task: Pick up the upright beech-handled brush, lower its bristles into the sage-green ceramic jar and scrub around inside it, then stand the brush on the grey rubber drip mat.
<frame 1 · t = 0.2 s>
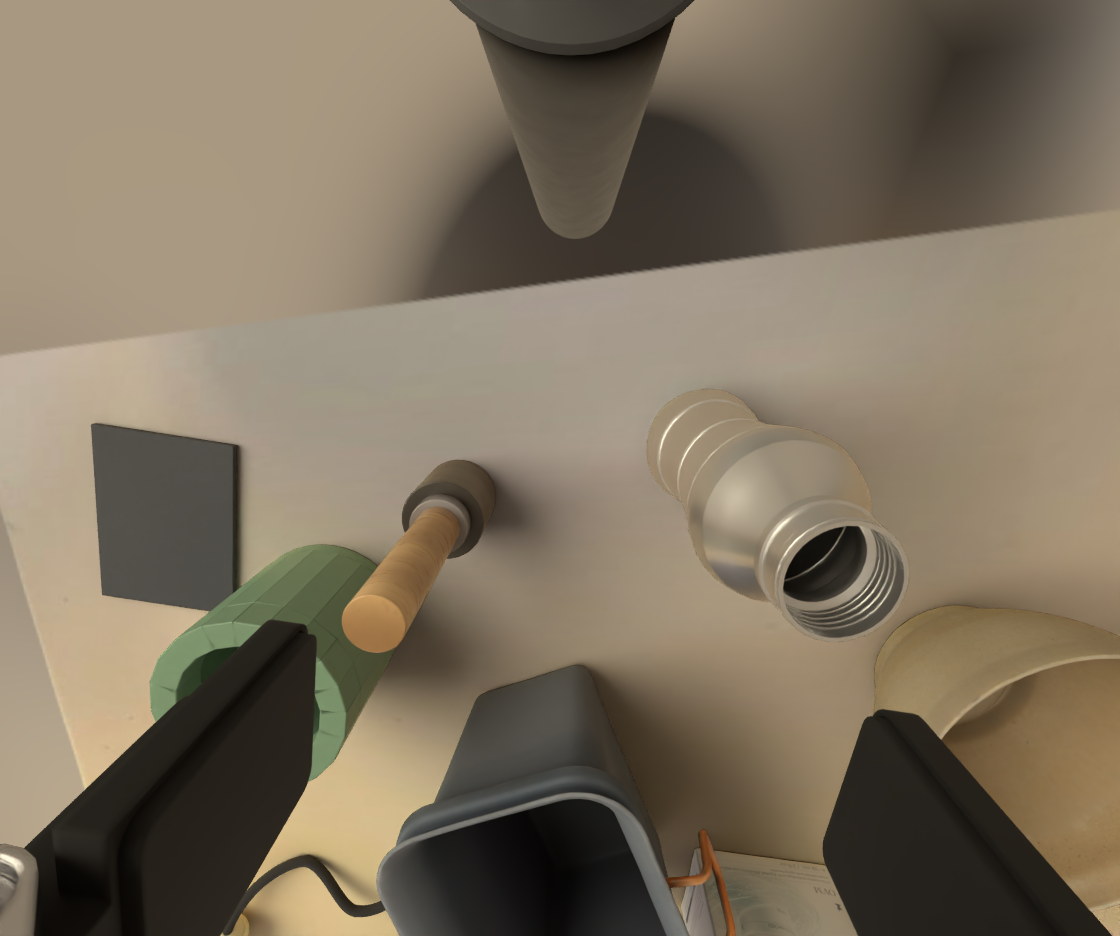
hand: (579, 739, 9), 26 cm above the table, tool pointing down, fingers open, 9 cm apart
brush: (460, 494, 36), on the table
jar: (330, 613, 39), on the table
cable: (327, 916, 46), on the table
cosmetics box: (752, 881, 44), on the table
drip mat: (169, 521, 37), on the table
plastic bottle: (693, 437, 35), on the table
planter bowl: (939, 664, 38), on the table
storage bin: (581, 758, 41), on the table
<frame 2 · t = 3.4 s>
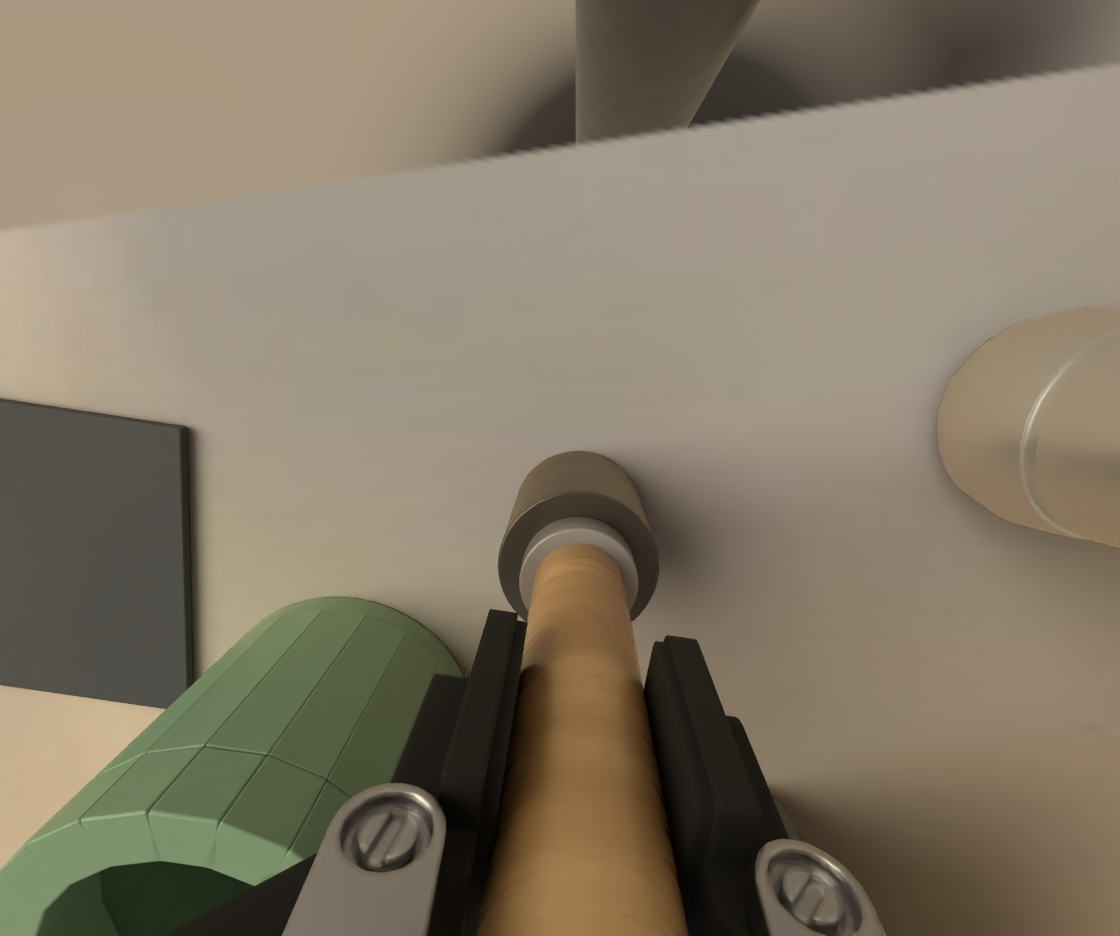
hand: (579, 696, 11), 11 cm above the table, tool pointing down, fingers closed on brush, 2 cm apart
brush: (577, 511, 21), on the table, touching gripper
jar: (349, 708, 23), on the table
drip mat: (76, 559, 22), on the table
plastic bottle: (1000, 407, 20), on the table
storage bin: (749, 929, 26), on the table
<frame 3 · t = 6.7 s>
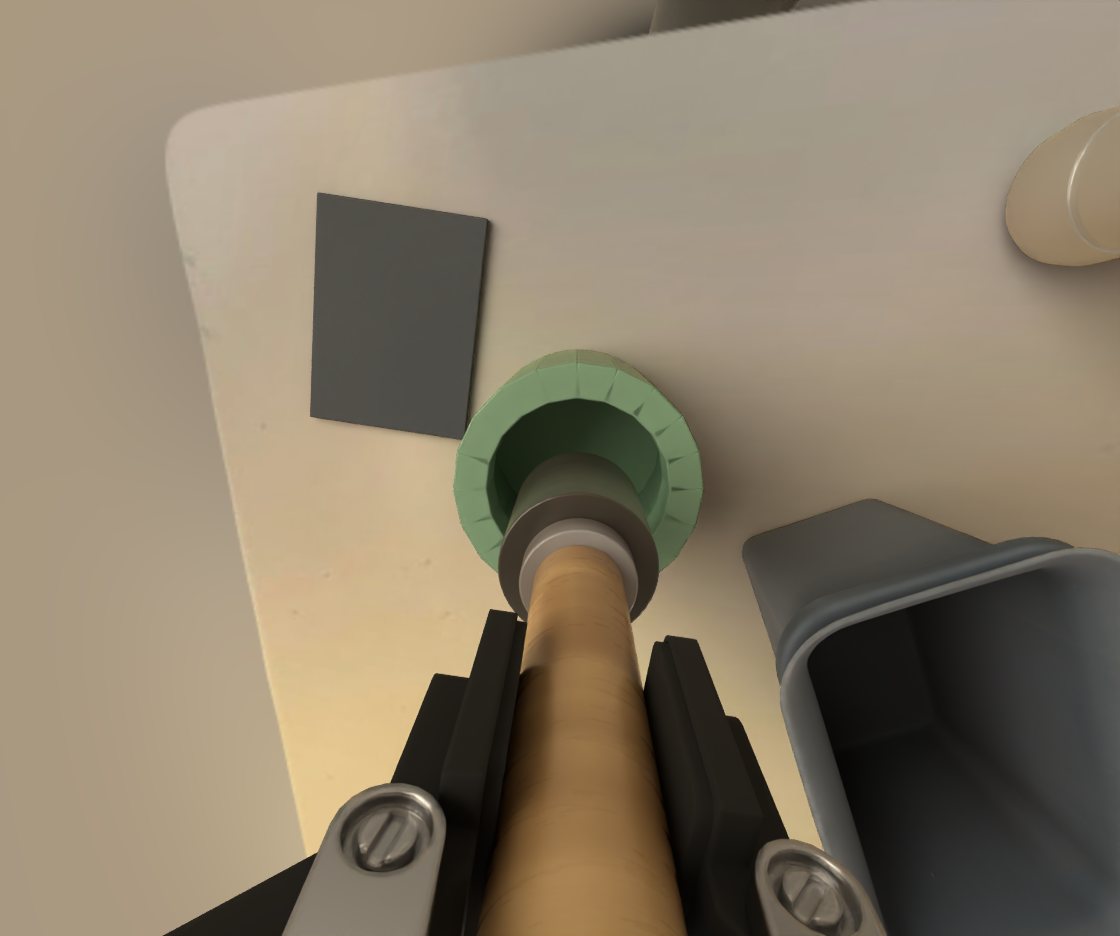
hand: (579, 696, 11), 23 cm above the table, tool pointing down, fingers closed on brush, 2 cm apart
brush: (577, 512, 21), point 12 cm above the table, touching gripper
jar: (577, 438, 33), on the table
drip mat: (396, 322, 31), on the table
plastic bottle: (1047, 201, 29), on the table
storage bin: (852, 621, 35), on the table
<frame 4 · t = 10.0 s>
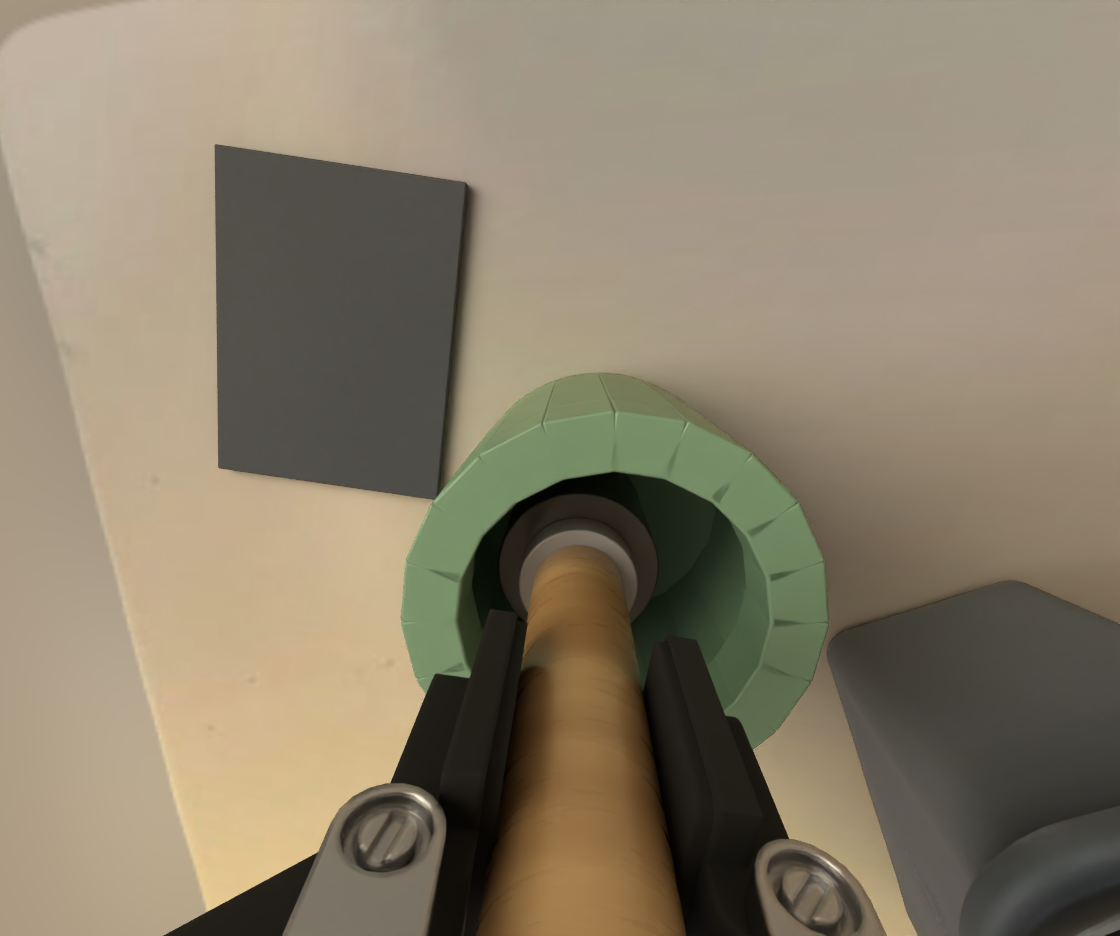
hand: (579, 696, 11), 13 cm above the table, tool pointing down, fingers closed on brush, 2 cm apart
brush: (577, 512, 21), point 2 cm above the table, touching gripper
jar: (597, 497, 23), on the table
drip mat: (337, 334, 22), on the table
storage bin: (973, 740, 26), on the table
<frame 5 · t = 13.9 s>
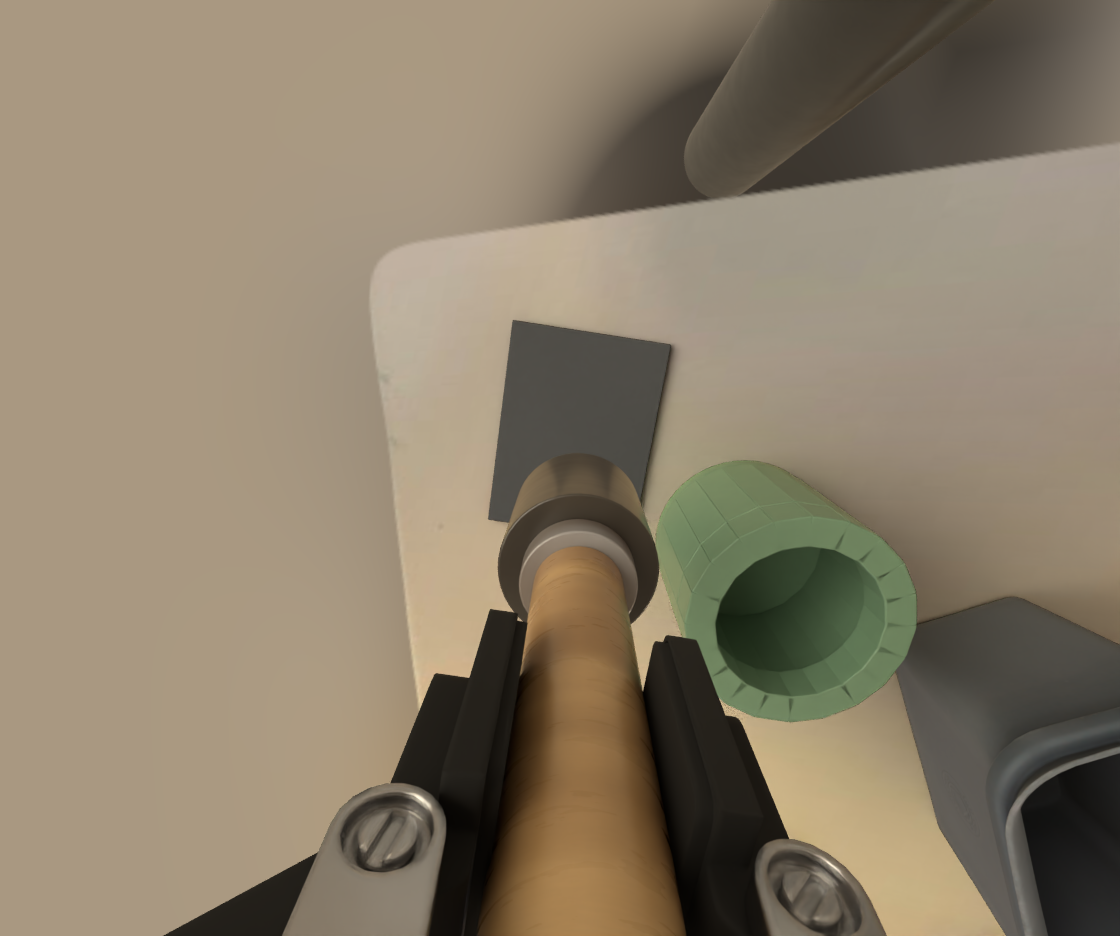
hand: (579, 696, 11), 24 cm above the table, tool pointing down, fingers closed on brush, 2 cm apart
brush: (577, 513, 21), point 13 cm above the table, touching gripper
jar: (738, 539, 35), on the table
drip mat: (575, 434, 33), on the table
storage bin: (986, 705, 37), on the table
when the fingers open (11 cm above the table, at t = 16.8 s): brush stays where it is, resting on drip mat.
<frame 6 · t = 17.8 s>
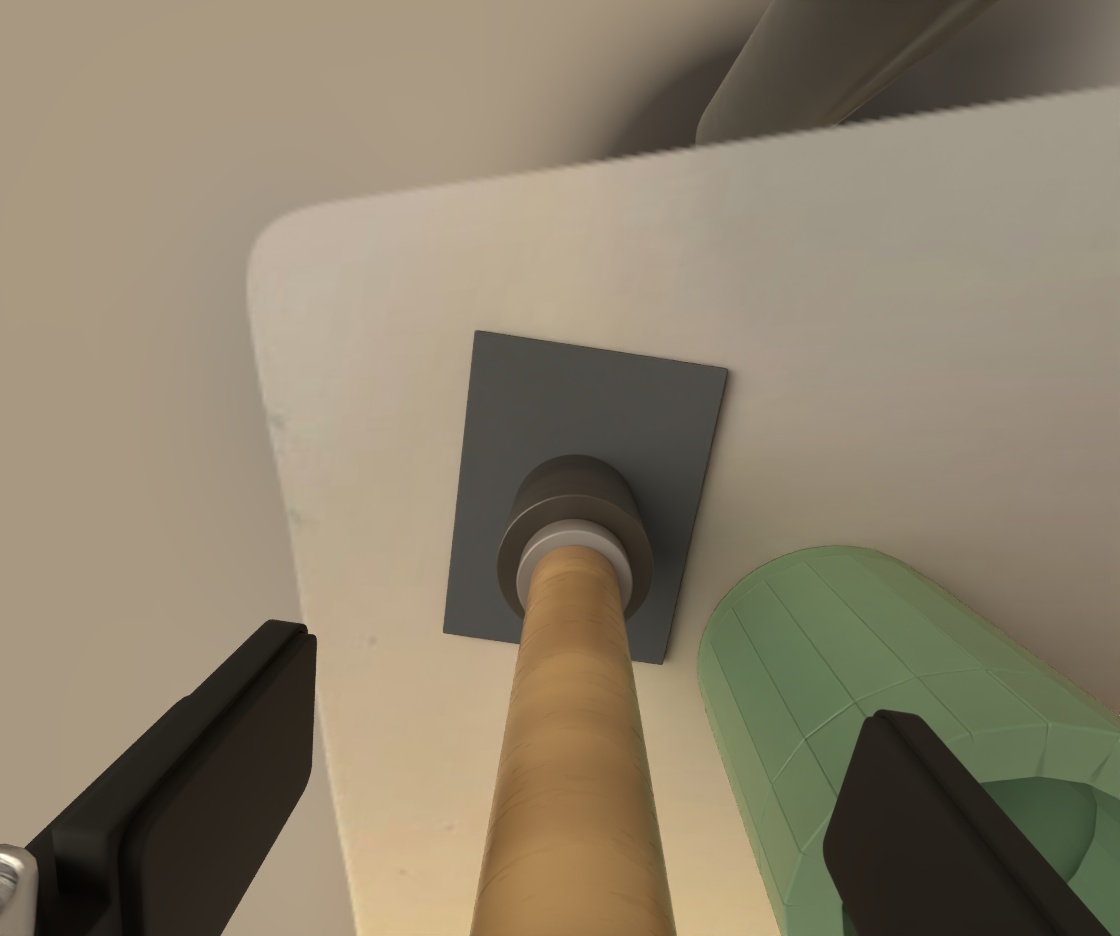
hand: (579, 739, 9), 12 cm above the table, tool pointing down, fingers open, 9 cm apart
brush: (574, 513, 21), resting on drip mat
jar: (822, 661, 23), on the table
drip mat: (575, 507, 21), on the table
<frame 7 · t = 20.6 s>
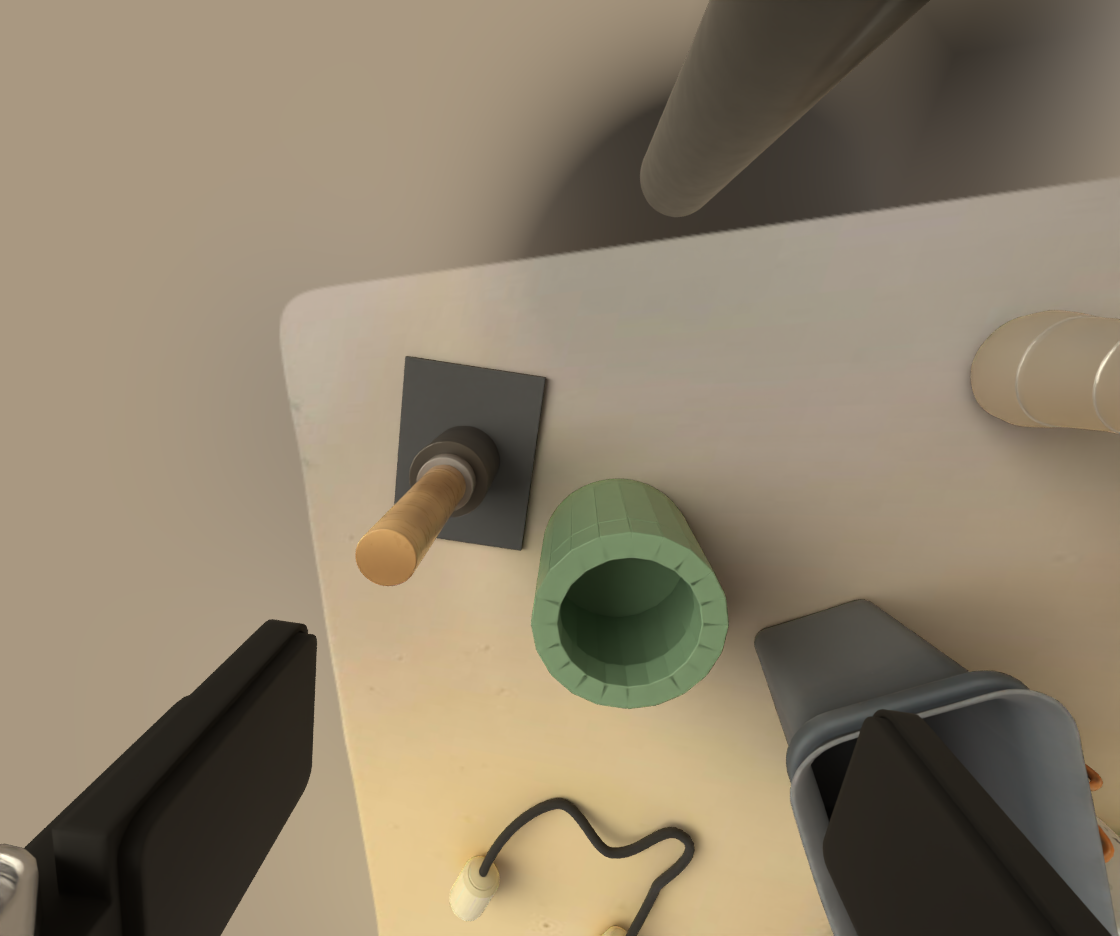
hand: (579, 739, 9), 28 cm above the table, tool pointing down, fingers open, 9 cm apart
brush: (465, 459, 37), resting on drip mat
jar: (616, 549, 39), on the table
cable: (569, 861, 46), on the table
cosmetics box: (1003, 822, 44), on the table
drip mat: (466, 456, 37), on the table
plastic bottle: (1005, 365, 35), on the table
storage bin: (847, 697, 42), on the table
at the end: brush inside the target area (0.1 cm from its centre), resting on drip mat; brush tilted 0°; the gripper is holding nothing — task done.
